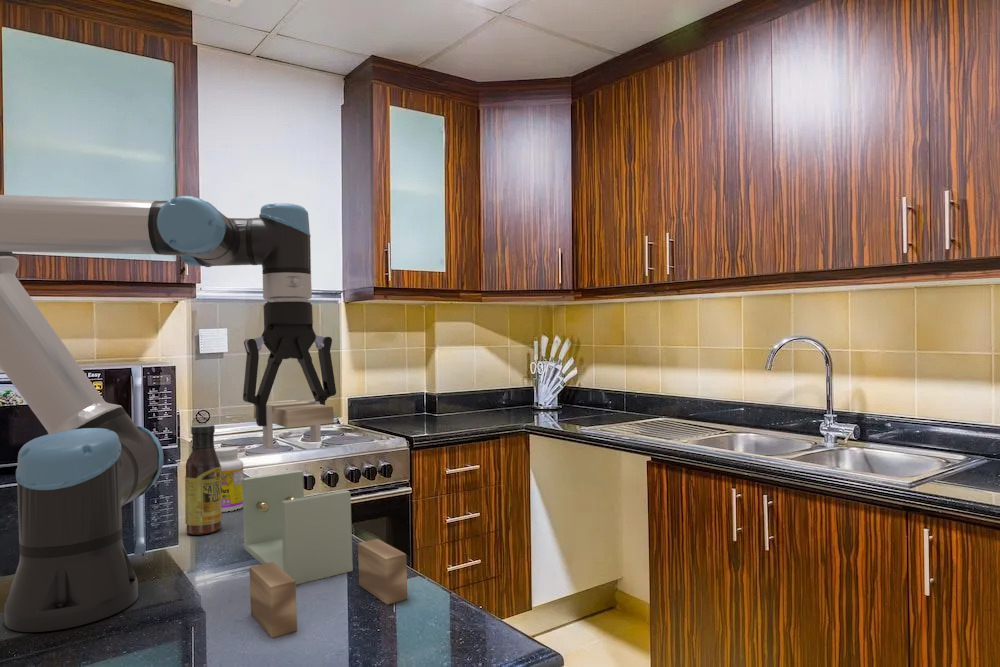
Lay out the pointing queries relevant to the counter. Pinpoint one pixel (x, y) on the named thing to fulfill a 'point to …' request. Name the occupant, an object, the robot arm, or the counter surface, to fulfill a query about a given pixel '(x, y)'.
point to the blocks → (278, 590)
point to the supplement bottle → (230, 478)
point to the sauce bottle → (203, 484)
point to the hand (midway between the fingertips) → (292, 443)
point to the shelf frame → (297, 527)
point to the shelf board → (299, 413)
